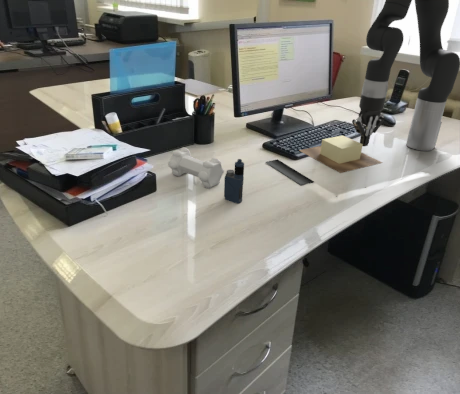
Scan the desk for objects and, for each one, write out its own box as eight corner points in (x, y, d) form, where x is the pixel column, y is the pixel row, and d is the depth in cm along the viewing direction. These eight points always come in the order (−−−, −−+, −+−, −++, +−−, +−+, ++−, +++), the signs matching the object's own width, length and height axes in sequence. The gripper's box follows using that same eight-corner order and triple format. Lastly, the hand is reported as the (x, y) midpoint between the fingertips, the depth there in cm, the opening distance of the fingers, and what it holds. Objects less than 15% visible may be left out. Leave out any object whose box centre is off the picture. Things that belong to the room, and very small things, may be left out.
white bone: (224, 184, 123) (226, 157, 120) (204, 192, 117) (206, 164, 114) (186, 170, 131) (187, 144, 128) (165, 176, 125) (166, 149, 122)
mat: (300, 155, 143) (300, 154, 143) (337, 176, 129) (337, 175, 129) (265, 162, 137) (265, 161, 137) (300, 185, 123) (301, 184, 123)
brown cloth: (338, 146, 152) (339, 142, 151) (381, 166, 137) (382, 162, 136) (298, 154, 144) (298, 150, 143) (339, 177, 129) (340, 173, 128)
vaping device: (239, 205, 112) (241, 162, 106) (222, 199, 114) (223, 157, 108) (244, 201, 114) (246, 159, 108) (227, 195, 116) (228, 154, 110)
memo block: (340, 149, 145) (342, 135, 143) (359, 158, 138) (362, 144, 136) (320, 153, 141) (322, 139, 139) (339, 163, 134) (341, 148, 132)
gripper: (367, 99, 130) (357, 152, 138) (397, 94, 136) (386, 146, 144) (349, 93, 135) (341, 144, 143) (379, 89, 141) (369, 139, 149)
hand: (363, 145), depth 143 cm, fingers closed
